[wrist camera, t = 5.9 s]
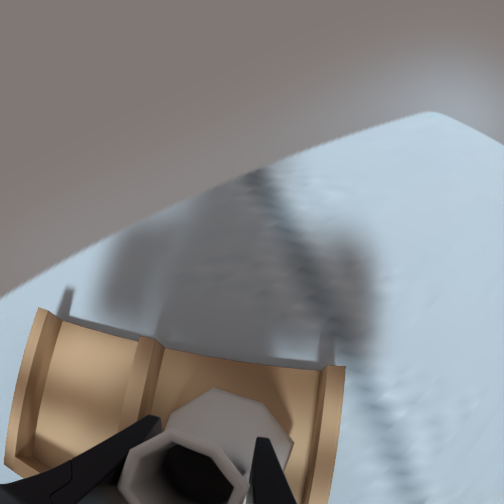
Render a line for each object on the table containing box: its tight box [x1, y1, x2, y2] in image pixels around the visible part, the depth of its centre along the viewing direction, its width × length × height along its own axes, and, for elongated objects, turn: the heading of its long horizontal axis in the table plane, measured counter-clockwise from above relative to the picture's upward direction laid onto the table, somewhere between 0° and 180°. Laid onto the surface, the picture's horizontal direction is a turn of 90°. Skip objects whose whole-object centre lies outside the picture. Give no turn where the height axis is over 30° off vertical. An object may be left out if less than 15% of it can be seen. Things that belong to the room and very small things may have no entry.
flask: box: [116, 387, 294, 504], centre depth 10 cm, size 7×7×10 cm
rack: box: [4, 307, 346, 504], centre depth 14 cm, size 12×20×3 cm, turn 81°
